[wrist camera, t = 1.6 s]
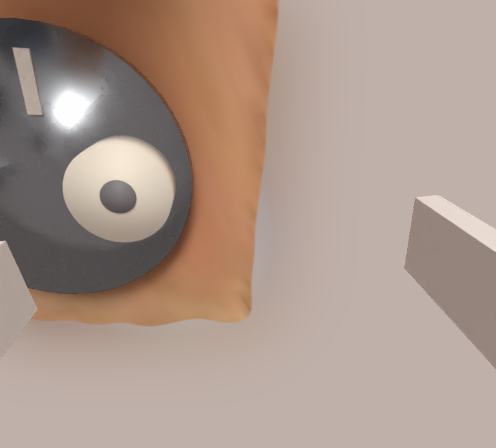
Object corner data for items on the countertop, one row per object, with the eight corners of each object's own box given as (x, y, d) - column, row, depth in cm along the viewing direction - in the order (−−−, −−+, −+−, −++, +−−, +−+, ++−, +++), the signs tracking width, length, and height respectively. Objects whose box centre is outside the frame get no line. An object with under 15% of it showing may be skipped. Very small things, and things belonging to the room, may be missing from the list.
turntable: (-43, 285, 36) (-93, 329, 31) (-155, 7, 25) (-269, -9, 19) (194, 284, 39) (190, 323, 33) (190, 32, 28) (183, 24, 22)
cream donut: (86, 224, 33) (72, 243, 30) (70, 133, 29) (51, 142, 26) (177, 225, 34) (173, 243, 31) (174, 137, 30) (168, 146, 27)
